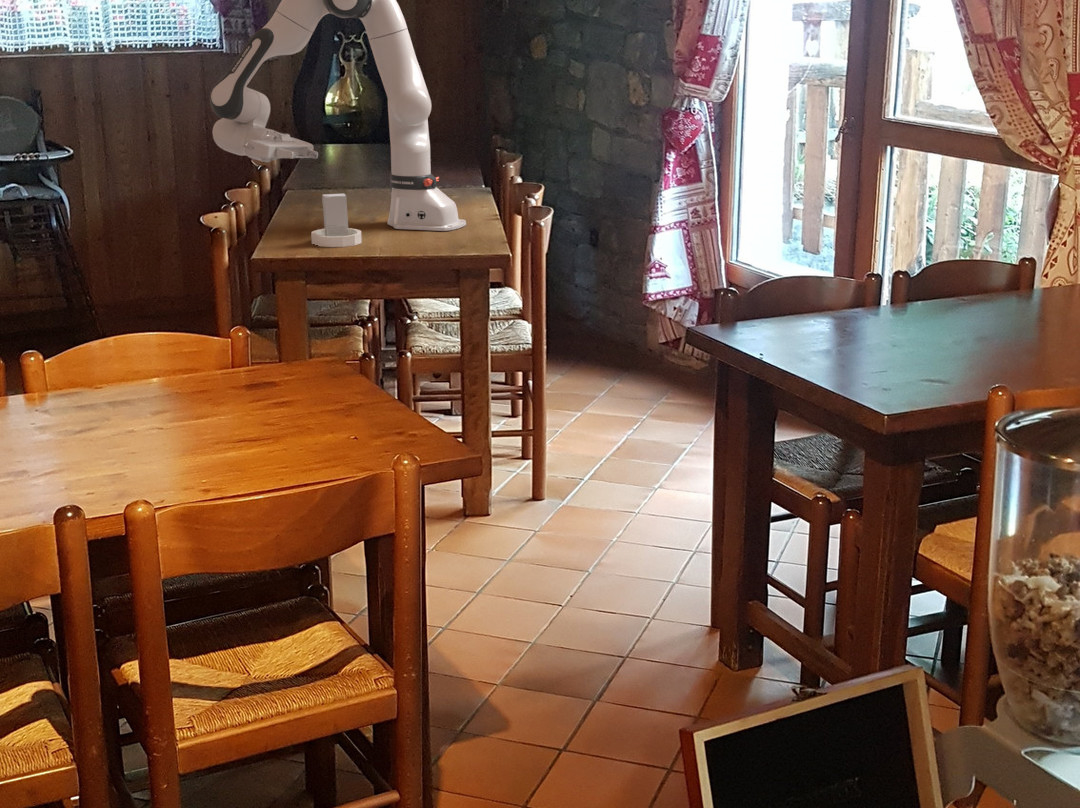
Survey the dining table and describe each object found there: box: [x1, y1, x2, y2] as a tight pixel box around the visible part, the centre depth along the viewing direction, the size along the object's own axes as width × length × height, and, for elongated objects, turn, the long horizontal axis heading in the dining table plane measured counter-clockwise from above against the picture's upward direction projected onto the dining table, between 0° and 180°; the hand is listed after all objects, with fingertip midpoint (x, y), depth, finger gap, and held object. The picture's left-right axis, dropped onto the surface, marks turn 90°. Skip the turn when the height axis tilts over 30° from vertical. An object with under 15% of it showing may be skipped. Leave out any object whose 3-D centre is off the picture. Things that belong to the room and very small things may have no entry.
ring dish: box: [310, 227, 363, 248], centre depth 327 cm, size 13×13×3 cm
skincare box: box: [321, 193, 349, 237], centre depth 324 cm, size 6×4×12 cm
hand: (305, 155), depth 327 cm, fingers open, 8 cm apart
